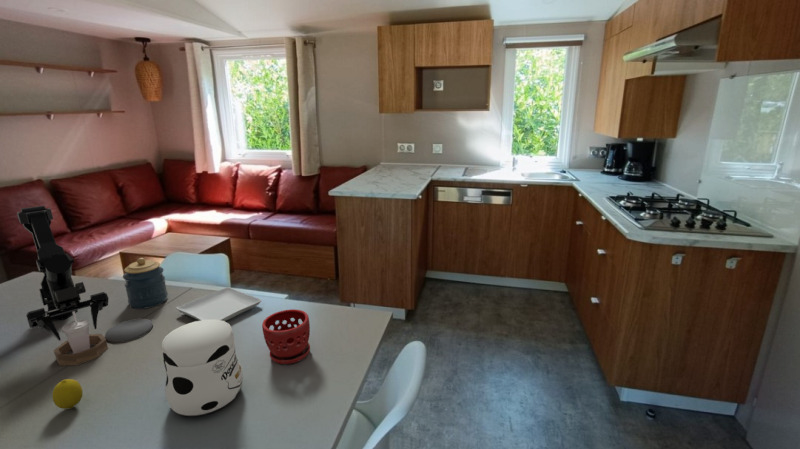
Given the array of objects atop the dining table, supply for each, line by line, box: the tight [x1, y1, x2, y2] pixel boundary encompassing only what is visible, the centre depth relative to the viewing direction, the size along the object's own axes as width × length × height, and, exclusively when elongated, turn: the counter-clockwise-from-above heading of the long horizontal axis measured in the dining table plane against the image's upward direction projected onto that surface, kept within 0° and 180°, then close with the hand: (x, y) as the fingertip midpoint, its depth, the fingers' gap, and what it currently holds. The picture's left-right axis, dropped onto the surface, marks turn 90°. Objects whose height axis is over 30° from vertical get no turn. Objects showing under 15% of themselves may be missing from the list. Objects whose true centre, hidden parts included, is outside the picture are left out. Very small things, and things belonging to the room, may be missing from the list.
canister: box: [122, 257, 169, 310], centre depth 150 cm, size 13×13×18 cm
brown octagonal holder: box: [53, 333, 109, 367], centre depth 120 cm, size 12×12×3 cm
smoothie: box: [61, 311, 91, 354], centre depth 118 cm, size 6×6×14 cm
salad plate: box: [175, 287, 262, 322], centre depth 145 cm, size 21×21×3 cm
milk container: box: [161, 319, 244, 417], centre depth 99 cm, size 17×17×18 cm
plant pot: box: [261, 308, 311, 365], centre depth 117 cm, size 13×13×12 cm
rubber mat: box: [104, 318, 154, 343], centre depth 132 cm, size 13×13×1 cm
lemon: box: [51, 378, 83, 410], centre depth 97 cm, size 6×6×8 cm
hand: (78, 334), depth 117 cm, fingers open, 8 cm apart
